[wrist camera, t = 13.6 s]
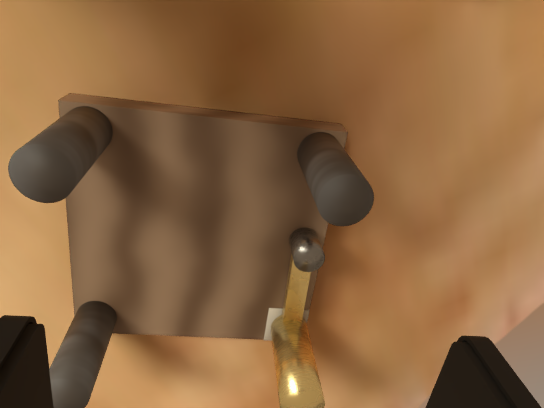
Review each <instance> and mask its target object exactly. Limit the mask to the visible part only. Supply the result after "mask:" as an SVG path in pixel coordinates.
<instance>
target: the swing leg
mask: <svg viewBox="0 0 544 408" xmlns="http://www.w3.org/2000/svg"><path fill="white" fill-rule="evenodd" d="M289 244H290V249H291V259H290V266H289V272H288V278H287V285H286V291H285V297H284V304H283V310H282V315H281V316H279V317H277V318H276V319H275V320H274V321H273V322H272V324H271V337H272V345H273V354H274V362H275V370H276V378H277V387H278V395H279V403H280V408H324V406H325V401H324V397H323V392H322V388H321V384H320V379H319V375H318V371H317V366H316V362H315V358H314V354H313V349H312V345H311V341H310V336H309V332H308V328H307V323H306V321H305V319H304V318H303V312H304V307H305V301H306V296H307V290H308V285H309V280H310V274H311V272H312V271H315V270H317V269H319V268H320V267H321V266H322V265H323V263H324V260H325V255H324V252H323V249H322V247H321V244H320V241H319V238H318V235H317V233H316V232H315V231H314V230H313V229H310V228H306V227H303V228H299V229H297V230H295V231H294V232H293V233H292V234H291V236H290V238H289Z"/></svg>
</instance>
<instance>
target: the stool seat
mask: <svg viewBox="0 0 544 408" xmlns="http://www.w3.org/2000/svg"><path fill="white" fill-rule="evenodd" d="M58 102H59V116H60V119H58V120H57V121H56V122H54V123H53V124H52V125H50V126H49V127H48V128H46V129H45V130H44V131H42V132H41V133H40V134H38V135H37V136H36V137H34V138H33V139H32V140H30V141H29V142H28V143H26V144H25V145H24V146H22V147H21V148H20V149H18V150H17V151H16V152H15V153H14V154H13V155H12V157H11V159H10V161H9V166H8V171H9V176H10V179H11V181H12V183H13V184H14V186H15V187H16V188H17V189H18V190H19V191H20V192H21V193H22V194H23V195H25V196H26V197H28V198H30V199H32V200H34V201H38V202H43V203H54V202H58V201H61V200H63V199H64V198H66V209H67V222H68V236H69V249H70V262H71V276H72V289H73V303H74V316H75V317H74V319H73V321H72V323H71V325H70V327H69V329H68V331H67V333H66V335H65V338H64V340H63V342H62V344H61V346H60V348H59V350H58V352H57V354H56V356H55V358H54V361H53V363H52V365H51V367H50V369H49V372H50V380H51V389H52V398H53V407H54V408H85V407H86V405H87V404H88V402H89V399H90V396H91V393H92V390H93V387H94V384H95V382H96V379H97V376H98V373H99V370H100V367H101V364H102V361H103V358H104V355H105V352H106V350H107V347H108V344H109V341H110V338H111V335H112V333H117V334H142V335H166V336H191V337H215V338H240V339H264V340H271V341H272V337H271V324H272V322H273V321H274V320H275V319H276V318H277V317H279V316H281V315H282V310H283V304H284V297H285V291H286V285H287V278H288V272H289V266H290V259H291V249H290V244H289V238H290V236H291V234H292V233H293V232H294V231H295V230H297V229H299V228H303V227H306V228H310V229H313V230H314V231H315V232H316V233H317V235H318V238H319V241H320V244H321V247H322V249H323V245H324V240H325V236H326V231H327V226H328V223H330V224H332V225H336V226H349V225H352V224H355V223H357V222H359V221H361V220H362V219H363V218H364V217H365V216H366V215H367V214H368V213H369V211H370V210H371V208H372V205H373V201H374V194H373V190H372V188H371V186H370V184H369V183H368V181H367V180H366V179H365V177H364V176H363V175H362V173H361V172H360V170H359V169H358V168H357V166H356V165H355V164H354V162H353V161H352V159H351V158H350V157H349V155H348V154H347V153H346V151H345V150H344V148H345V144H346V139H347V134H348V132H347V131H346V129H345V128H344V127H343V126H342V125H341V124H338V123H329V122H321V121H312V120H303V119H294V118H285V117H276V116H267V115H259V114H250V113H241V112H232V111H223V110H214V109H205V108H196V107H188V106H179V105H170V104H161V103H152V102H143V101H134V100H126V99H117V98H108V97H99V96H90V95H81V94H72V93H69V94H68V95H66V96H64V97H63V98H61V99H60V100H58ZM317 273H318V269H317V270H315V271H312V272H311V274H310V280H309V285H308V290H307V296H306V301H305V307H304V312H303V318H304V319H305V321H306V323H307V320H308V315H309V311H310V310H309V309H310V305H311V300H312V296H313V291H314V286H315V282H316V277H317Z"/></svg>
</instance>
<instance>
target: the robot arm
mask: <svg viewBox="0 0 544 408" xmlns="http://www.w3.org/2000/svg"><path fill="white" fill-rule="evenodd" d="M0 408H54V407H53V398H52V389H51V380H50V372H49V363H48V354H47V345H46V337H45V328H44V325H43V324H37V323H36V319H35V318H34V317H31V316H8V315H4V316H2V317H1V318H0ZM426 408H541V407H540V405H539V404H538V403H537V401H536V400H535V399H534V397H533V396H532V395H531V393H530V392H529V391H528V389H527V388H526V387H525V385H524V384H523V383H522V381H521V380H520V379H519V377H518V376H517V375H516V373H515V372H514V371H513V369H512V368H511V367H510V366H509V364H508V363H507V361H506V360H505V359H504V357H503V356H502V355H501V353H500V352H499V351H498V349H497V348H496V347H495V345H494V344H493V343H492V341H491V340H490V339H489V338H487V337H480V336H461V337H460V338H459V339H458V341H457V342H454V343H453V344H452V345H451V348H450V350H449V352H448V355H447V357H446V360H445V362H444V364H443V367H442V369H441V372H440V374H439V377H438V379H437V381H436V384H435V386H434V389H433V391H432V394H431V396H430V398H429V401H428V403H427V406H426Z"/></svg>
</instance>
